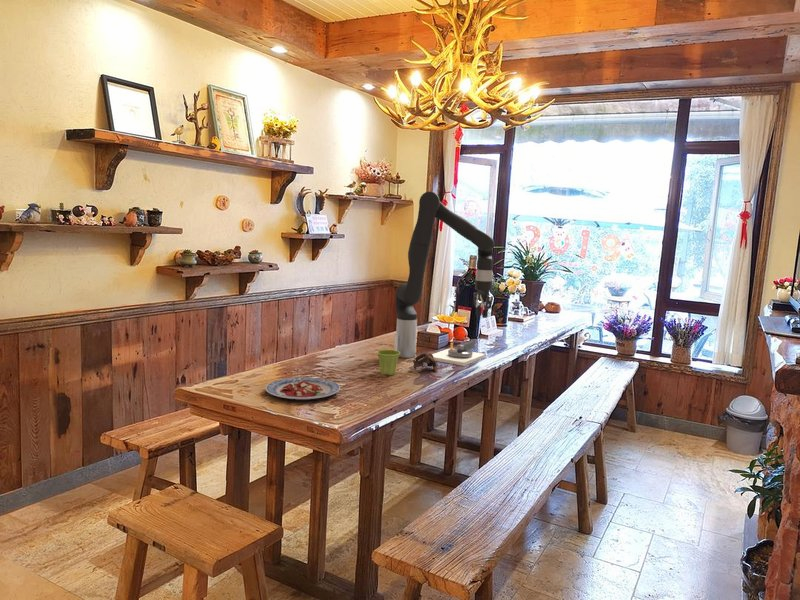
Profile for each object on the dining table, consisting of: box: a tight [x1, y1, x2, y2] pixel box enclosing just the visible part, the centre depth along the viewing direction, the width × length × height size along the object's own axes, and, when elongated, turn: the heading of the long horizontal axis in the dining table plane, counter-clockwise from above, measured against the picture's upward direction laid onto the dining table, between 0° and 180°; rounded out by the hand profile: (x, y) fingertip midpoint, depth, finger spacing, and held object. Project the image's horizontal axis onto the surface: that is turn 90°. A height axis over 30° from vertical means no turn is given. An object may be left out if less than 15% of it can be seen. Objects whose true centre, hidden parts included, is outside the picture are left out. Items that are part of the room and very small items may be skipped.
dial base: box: [431, 342, 486, 367], centre depth 267 cm, size 22×18×4 cm
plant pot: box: [376, 349, 400, 376], centre depth 236 cm, size 9×9×9 cm
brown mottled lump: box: [412, 352, 438, 373], centre depth 245 cm, size 12×10×8 cm
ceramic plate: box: [264, 376, 341, 401], centre depth 206 cm, size 26×26×3 cm
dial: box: [448, 340, 475, 358], centre depth 269 cm, size 18×11×4 cm, turn 147°
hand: (481, 316), depth 268 cm, fingers open, 5 cm apart
